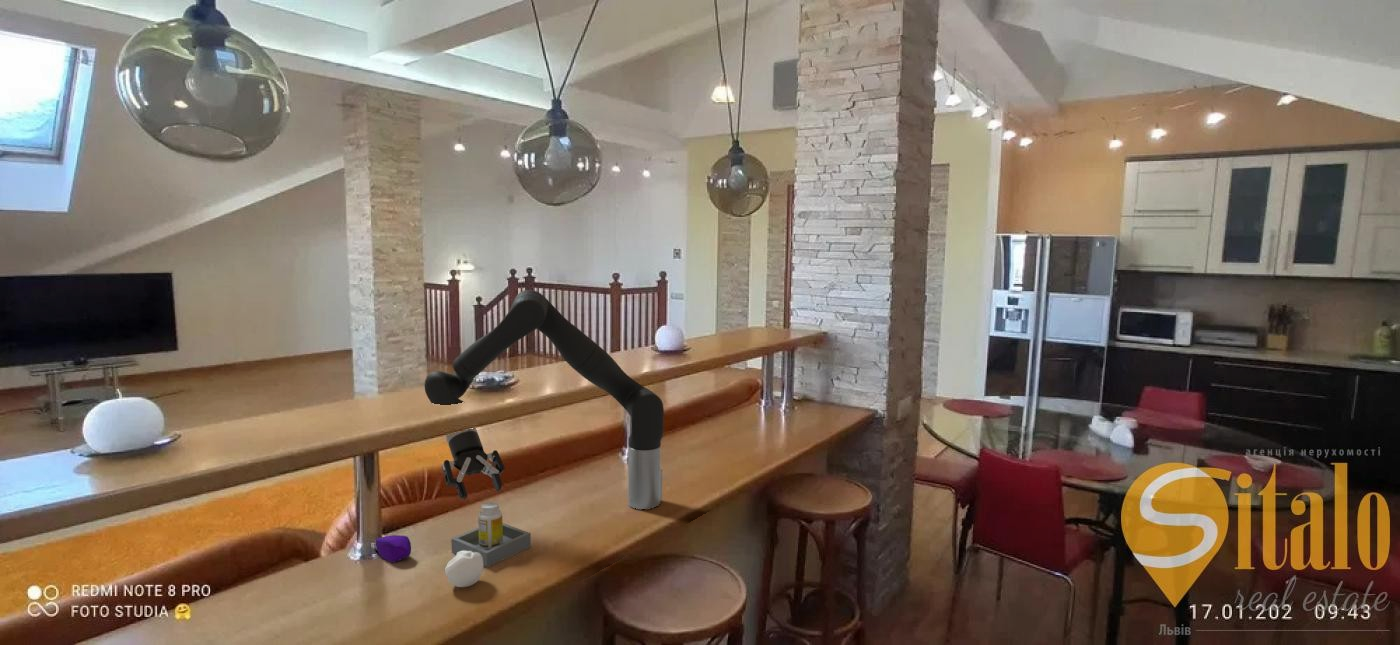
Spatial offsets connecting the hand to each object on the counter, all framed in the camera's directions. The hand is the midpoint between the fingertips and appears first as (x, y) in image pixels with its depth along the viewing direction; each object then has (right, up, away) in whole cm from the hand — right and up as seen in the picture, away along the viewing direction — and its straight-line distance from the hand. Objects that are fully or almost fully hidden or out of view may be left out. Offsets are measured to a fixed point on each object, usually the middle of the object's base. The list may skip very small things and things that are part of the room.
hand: (482, 493), depth 159 cm
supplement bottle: (+3, -12, -2) cm, 13 cm away
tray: (+3, -13, -2) cm, 14 cm away
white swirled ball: (+3, -15, -19) cm, 24 cm away
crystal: (-20, -13, -5) cm, 25 cm away
